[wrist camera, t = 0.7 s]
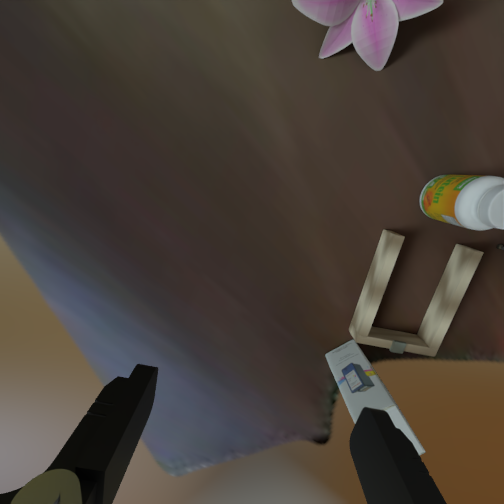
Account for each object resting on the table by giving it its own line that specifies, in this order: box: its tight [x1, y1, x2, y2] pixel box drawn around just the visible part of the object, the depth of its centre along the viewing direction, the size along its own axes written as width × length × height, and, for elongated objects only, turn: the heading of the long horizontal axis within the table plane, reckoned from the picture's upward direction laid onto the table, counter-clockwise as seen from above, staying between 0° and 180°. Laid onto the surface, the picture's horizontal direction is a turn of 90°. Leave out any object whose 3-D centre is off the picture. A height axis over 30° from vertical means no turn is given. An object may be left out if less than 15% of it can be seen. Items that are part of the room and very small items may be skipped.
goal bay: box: [349, 229, 484, 357], centre depth 35 cm, size 15×11×3 cm
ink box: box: [325, 339, 425, 455], centre depth 35 cm, size 9×5×12 cm, turn 34°
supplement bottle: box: [420, 175, 504, 230], centre depth 28 cm, size 5×5×10 cm
